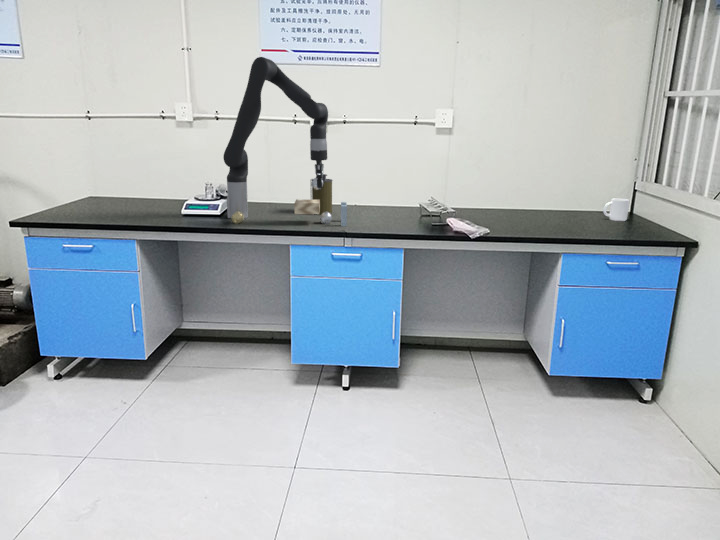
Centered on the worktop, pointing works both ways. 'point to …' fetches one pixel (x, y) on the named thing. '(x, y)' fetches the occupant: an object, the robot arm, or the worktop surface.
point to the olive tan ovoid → (237, 217)
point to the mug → (617, 209)
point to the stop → (343, 214)
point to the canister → (324, 195)
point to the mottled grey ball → (314, 184)
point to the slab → (307, 206)
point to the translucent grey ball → (325, 217)
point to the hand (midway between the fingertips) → (319, 187)
